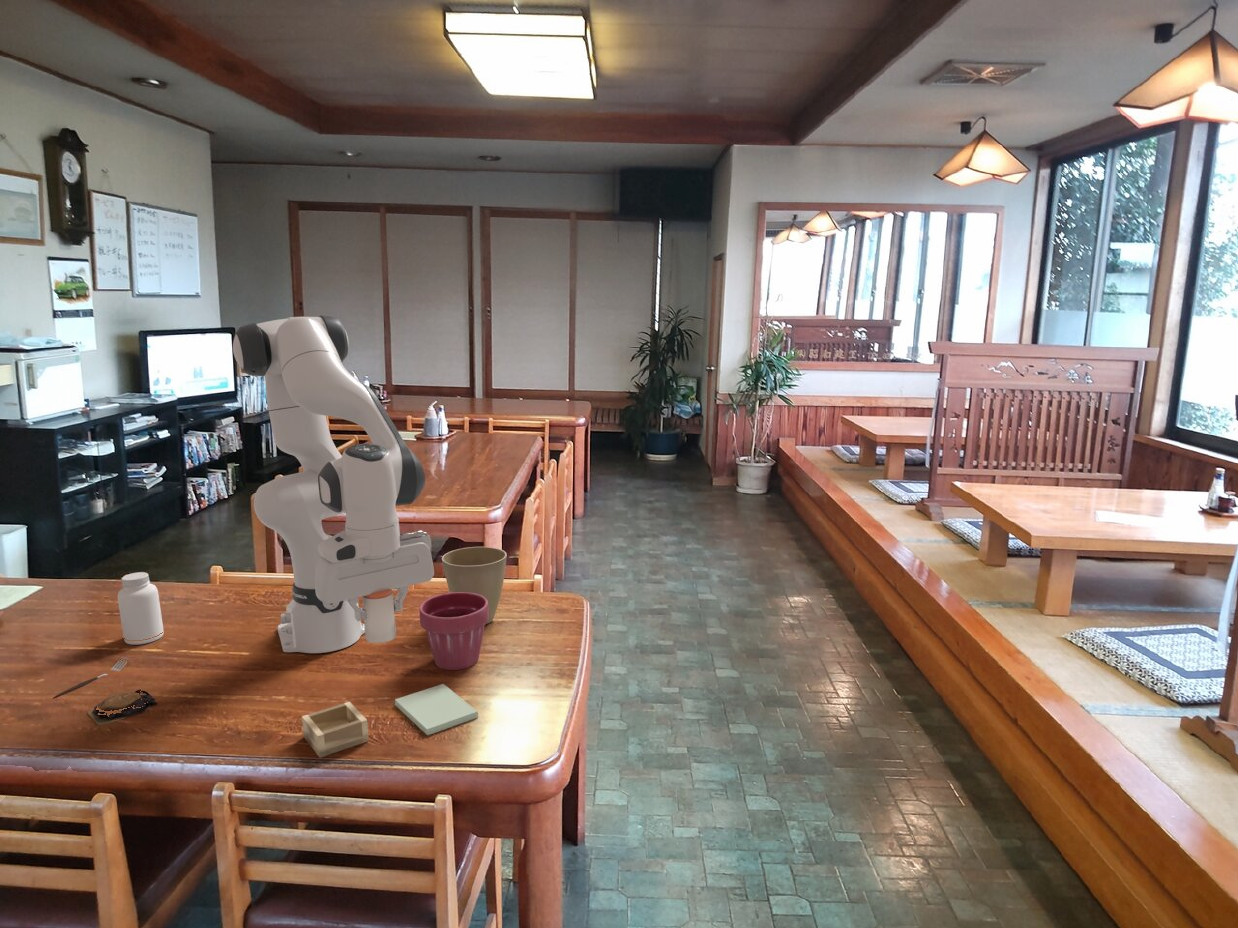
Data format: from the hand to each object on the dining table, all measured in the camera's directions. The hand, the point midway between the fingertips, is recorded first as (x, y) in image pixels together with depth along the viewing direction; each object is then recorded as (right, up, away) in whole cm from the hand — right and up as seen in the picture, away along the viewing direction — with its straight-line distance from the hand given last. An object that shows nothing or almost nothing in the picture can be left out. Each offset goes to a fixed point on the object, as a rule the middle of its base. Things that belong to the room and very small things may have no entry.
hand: (379, 614), depth 147 cm
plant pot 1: (+9, -11, +51) cm, 53 cm away
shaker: (0, -4, +1) cm, 4 cm away
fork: (-65, -18, +23) cm, 71 cm away
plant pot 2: (+8, -15, +30) cm, 34 cm away
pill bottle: (-66, -13, +44) cm, 80 cm away
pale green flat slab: (+8, -20, +9) cm, 23 cm away
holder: (-8, -22, 0) cm, 23 cm away
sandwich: (-52, -21, +12) cm, 57 cm away
